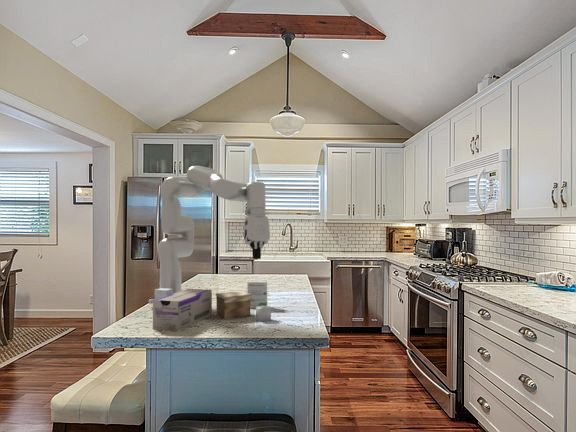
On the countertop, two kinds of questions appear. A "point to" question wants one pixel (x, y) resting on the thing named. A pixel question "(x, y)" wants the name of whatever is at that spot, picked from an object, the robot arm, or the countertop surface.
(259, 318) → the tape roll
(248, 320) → the countertop surface
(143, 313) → the countertop surface
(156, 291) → the skincare box
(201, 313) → the surgical sutures box
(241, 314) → the crate
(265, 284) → the ink box
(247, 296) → the lid
